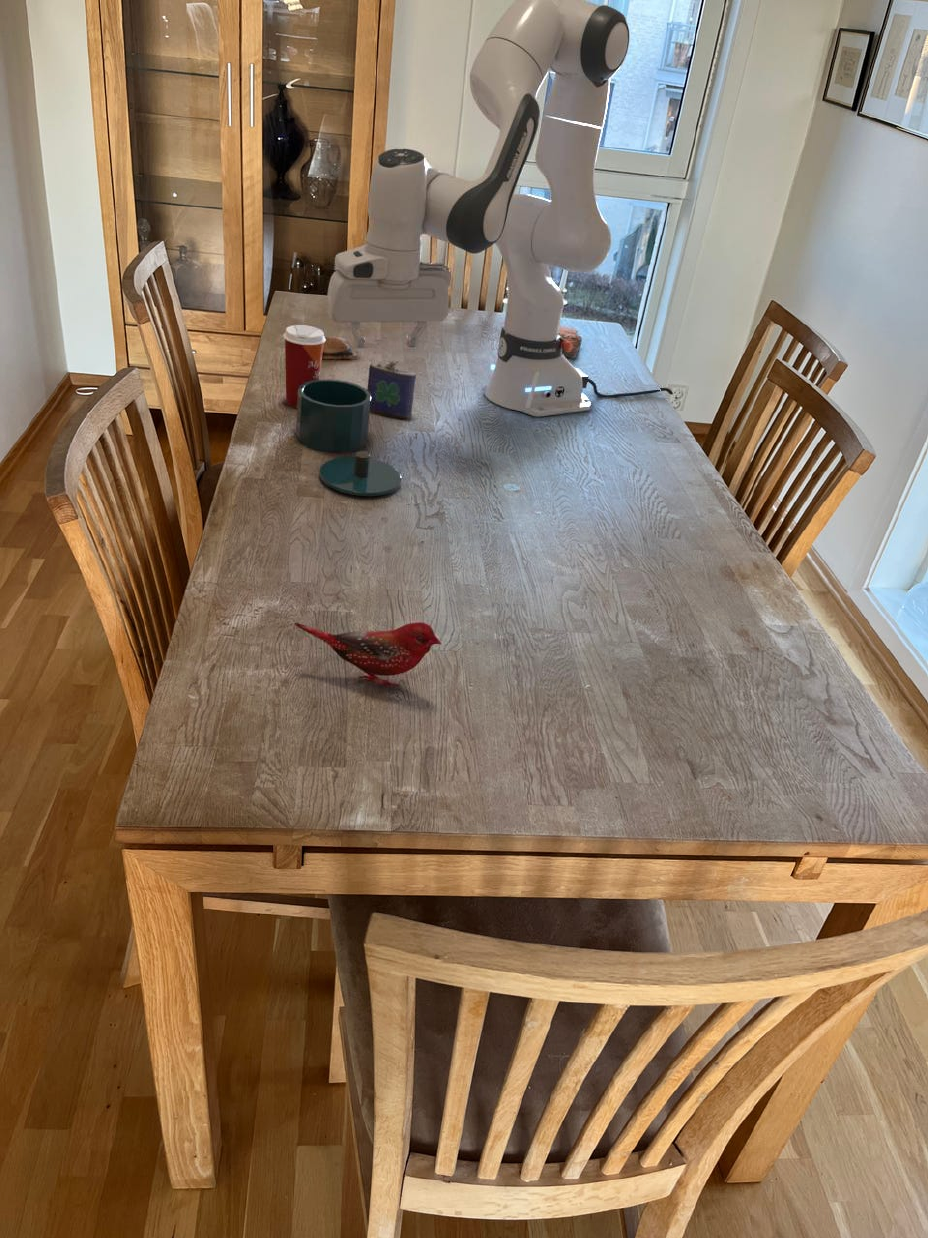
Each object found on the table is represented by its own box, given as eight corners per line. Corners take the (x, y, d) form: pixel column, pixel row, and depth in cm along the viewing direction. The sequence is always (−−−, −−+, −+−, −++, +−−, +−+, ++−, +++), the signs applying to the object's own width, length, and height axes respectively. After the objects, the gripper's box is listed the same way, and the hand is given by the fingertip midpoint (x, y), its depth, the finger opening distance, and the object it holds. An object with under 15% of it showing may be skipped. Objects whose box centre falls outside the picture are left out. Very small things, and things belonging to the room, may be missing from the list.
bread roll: (348, 347, 217) (350, 330, 215) (358, 360, 211) (360, 343, 209) (301, 345, 214) (302, 329, 212) (310, 359, 207) (311, 342, 205)
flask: (412, 416, 189) (418, 362, 183) (407, 421, 187) (413, 367, 181) (367, 405, 191) (372, 352, 185) (362, 410, 188) (367, 356, 182)
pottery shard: (582, 362, 232) (586, 346, 230) (518, 352, 231) (521, 336, 228) (576, 340, 245) (579, 325, 243) (515, 331, 244) (518, 315, 242)
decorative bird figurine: (431, 703, 117) (441, 635, 111) (287, 671, 118) (291, 602, 112) (435, 689, 119) (446, 621, 114) (295, 658, 120) (299, 589, 115)
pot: (355, 422, 183) (358, 378, 178) (376, 451, 174) (380, 406, 169) (288, 424, 178) (290, 379, 173) (306, 454, 169) (309, 407, 164)
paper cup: (318, 413, 184) (322, 340, 176) (277, 407, 184) (280, 333, 176) (324, 398, 191) (328, 327, 183) (284, 392, 190) (287, 321, 182)
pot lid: (385, 460, 171) (388, 436, 168) (412, 497, 161) (415, 471, 158) (309, 464, 166) (311, 438, 163) (332, 501, 156) (334, 474, 153)
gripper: (445, 257, 162) (436, 338, 170) (325, 254, 154) (321, 340, 162) (459, 268, 157) (449, 352, 165) (337, 267, 150) (332, 354, 157)
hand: (385, 346), depth 164 cm, fingers open, 8 cm apart
